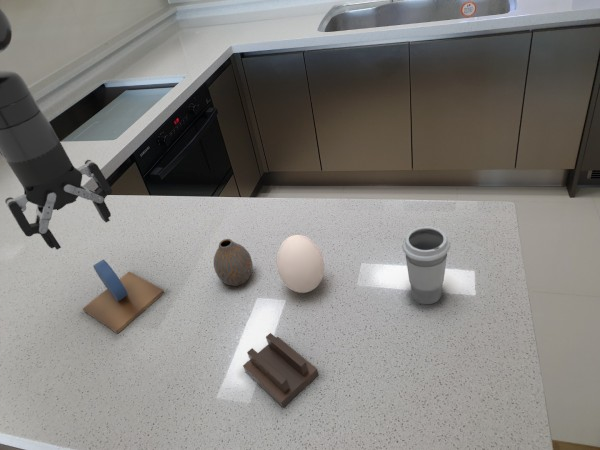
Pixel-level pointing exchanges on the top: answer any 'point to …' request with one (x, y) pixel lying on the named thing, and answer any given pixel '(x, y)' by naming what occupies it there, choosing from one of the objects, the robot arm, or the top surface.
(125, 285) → the plate
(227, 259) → the vase
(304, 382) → the rack
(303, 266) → the egg
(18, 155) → the robot arm
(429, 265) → the cup
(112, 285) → the disc
